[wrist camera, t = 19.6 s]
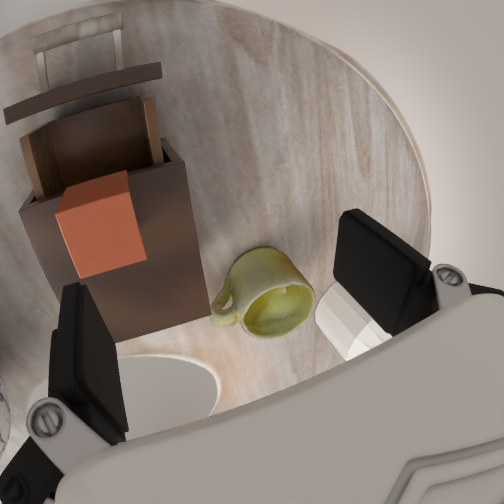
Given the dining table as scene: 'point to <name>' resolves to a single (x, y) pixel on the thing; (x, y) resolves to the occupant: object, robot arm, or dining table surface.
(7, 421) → the decorative sphere
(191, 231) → the cabinet
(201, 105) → the dining table surface
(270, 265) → the mug
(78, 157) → the drawer
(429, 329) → the robot arm
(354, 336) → the decorative object
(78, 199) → the block
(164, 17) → the dining table surface
